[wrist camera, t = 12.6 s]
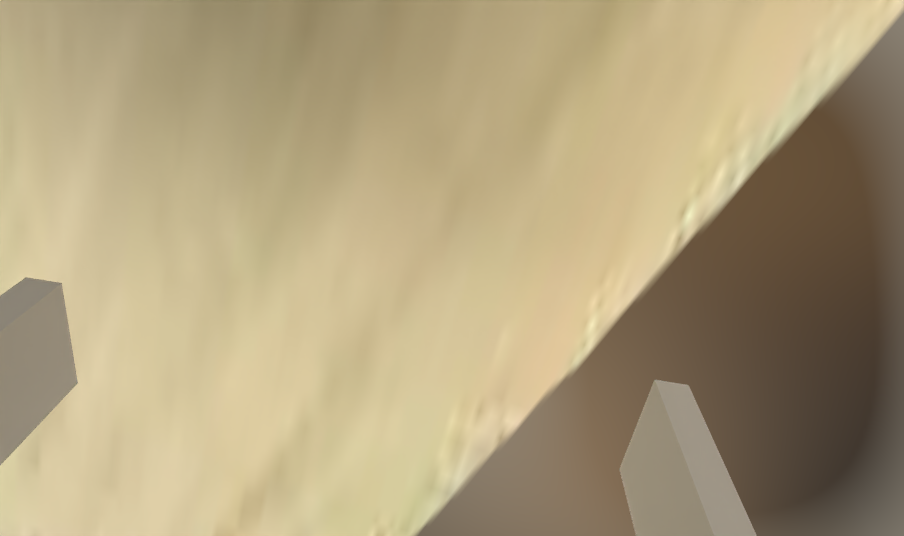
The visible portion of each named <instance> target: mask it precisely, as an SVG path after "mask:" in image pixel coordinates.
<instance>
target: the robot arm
mask: <svg viewBox="0 0 904 536" xmlns="http://www.w3.org/2000/svg"><path fill="white" fill-rule="evenodd" d="M77 383H78V382H77V376H76V370H75V363H74V357H73V351H72V345H71V339H70V332H69V326H68V320H67V314H66V308H65V301H64V295H63V289H62V283H57V282H51V281H45V280H39V279H33V278H25V279H23V280H22V281H20V282H19V283H18V284H16V285H15V286H13V287H12V288H11V289H9V290H8V291H6V292H5V293H4V294H2V295H1V296H0V465H1V464H2V463H3V462H4V461H5V460H6V459H7V458H8V457H9V456H10V454H11V453H12V452H13V451H14V450H15V449H16V448H17V447H18V446H19V445H20V444H21V443H22V442H23V441H24V440H25V439H26V437H27V436H28V435H29V434H30V433H31V432H32V431H33V430H34V429H35V428H36V427H37V426H38V425H39V424H40V423H41V422H42V420H43V419H44V418H45V417H46V416H47V415H48V414H49V413H50V412H51V411H52V410H53V409H54V408H55V407H56V406H57V405H58V403H59V402H60V401H61V400H62V399H63V398H64V397H65V396H66V395H67V394H68V393H69V392H70V391H71V390H72V389H73V388H74V386H75V385H76V384H77ZM620 473H621V477H622V481H623V485H624V489H625V493H626V497H627V501H628V505H629V509H630V513H631V517H632V521H633V525H634V529H635V534H636V536H756V534H755V531H754V529H753V527H752V525H751V522H750V520H749V518H748V516H747V513H746V511H745V509H744V507H743V505H742V502H741V500H740V498H739V496H738V494H737V491H736V489H735V487H734V485H733V483H732V480H731V478H730V476H729V474H728V472H727V469H726V467H725V465H724V463H723V460H722V458H721V456H720V454H719V452H718V449H717V447H716V445H715V443H714V441H713V438H712V436H711V434H710V432H709V430H708V427H707V425H706V423H705V421H704V419H703V416H702V414H701V412H700V410H699V407H698V405H697V403H696V401H695V399H694V397H693V394H692V392H691V390H690V388H689V386H688V385H684V384H678V383H672V382H666V381H659V380H654V383H653V385H652V388H651V391H650V393H649V395H648V398H647V401H646V403H645V406H644V408H643V411H642V413H641V416H640V418H639V421H638V423H637V426H636V428H635V431H634V433H633V436H632V439H631V441H630V444H629V446H628V449H627V451H626V454H625V456H624V459H623V462H622V464H621V467H620Z"/></svg>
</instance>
